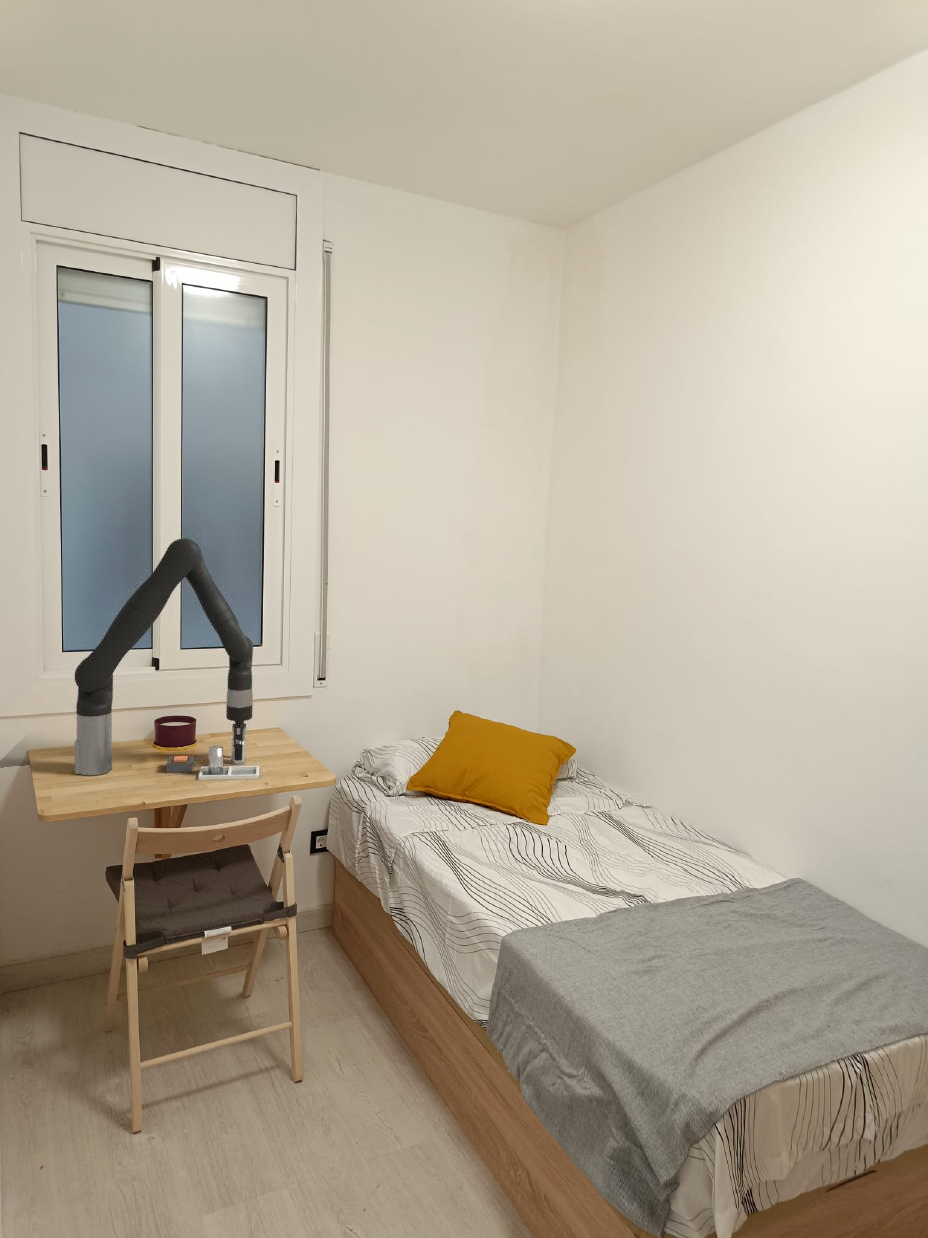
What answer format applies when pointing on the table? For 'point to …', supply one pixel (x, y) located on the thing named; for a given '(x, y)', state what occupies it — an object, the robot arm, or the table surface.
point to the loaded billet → (215, 760)
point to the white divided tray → (232, 773)
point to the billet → (242, 753)
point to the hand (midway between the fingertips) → (238, 755)
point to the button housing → (180, 765)
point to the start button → (180, 759)
